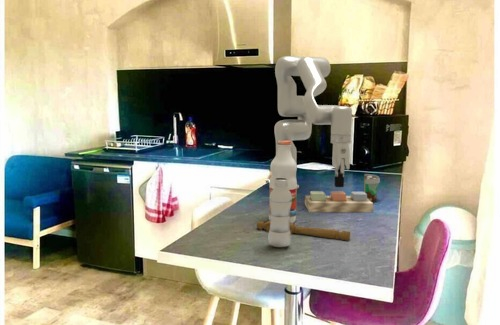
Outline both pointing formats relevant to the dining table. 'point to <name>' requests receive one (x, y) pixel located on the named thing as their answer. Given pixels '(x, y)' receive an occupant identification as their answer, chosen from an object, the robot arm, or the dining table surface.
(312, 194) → the sage button
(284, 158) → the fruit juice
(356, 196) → the slate button
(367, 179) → the food container
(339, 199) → the terracotta button
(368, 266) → the dining table surface
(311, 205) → the button panel
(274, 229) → the plastic bottle
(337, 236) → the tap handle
